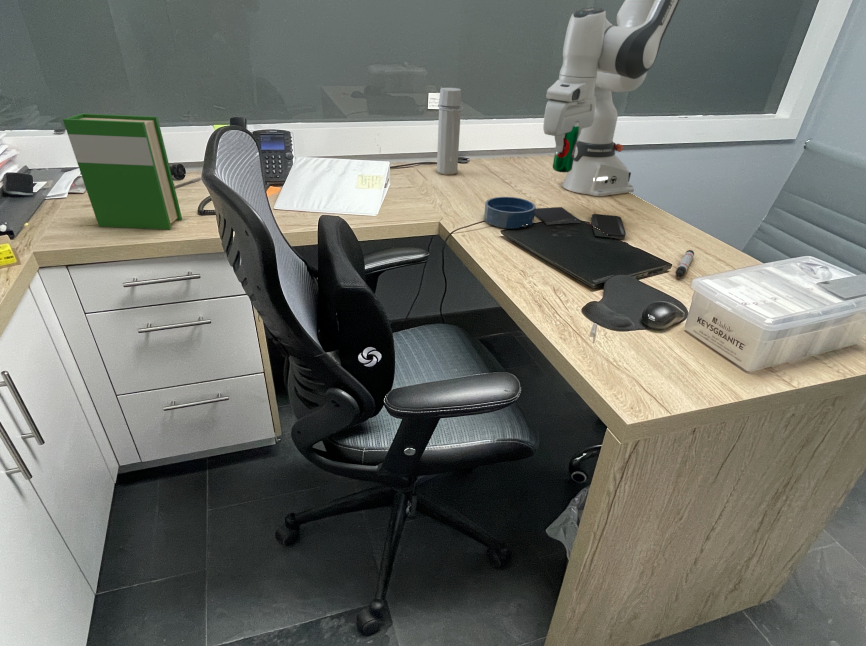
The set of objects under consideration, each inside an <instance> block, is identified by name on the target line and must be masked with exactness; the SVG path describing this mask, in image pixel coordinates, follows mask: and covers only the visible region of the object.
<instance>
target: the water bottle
mask: <svg viewBox="0 0 866 646" xmlns="http://www.w3.org/2000/svg"><path fill="white" fill-rule="evenodd" d="M437 107H438V128H437V152H436V153H437V155H436V156H437V157H436V172H437V174H440V175H444V176H453V175H455V174H456V173H458V169H459V168H458V167H459V150H460V134H461V133H460V132H461V115H462V114H461V113H462V110H463V109H464V107H463V105H462V89H461V88H458V87H441V88H440V90H439V99H438V104H437Z"/></svg>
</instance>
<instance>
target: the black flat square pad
mask: <svg viewBox="0 0 866 646" xmlns="http://www.w3.org/2000/svg"><path fill="white" fill-rule="evenodd" d="M534 217H535V218H537V219H538V220H540V221H541V222H542V223H543V224H545V223H544V222H552V221H558V220H563V219H567V218H571V219H576V220H579V221H581V219H580V218H578V217H576V216H575V215H573V214H572V213H571V212H569V211H568V210H566V209H565V208H564V207H562V206H557V207H556V206H555V207H536V209H535V216H534Z"/></svg>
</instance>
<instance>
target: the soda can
mask: <svg viewBox="0 0 866 646" xmlns="http://www.w3.org/2000/svg"><path fill="white" fill-rule="evenodd" d="M579 128H580V125H579V121H578V122H575V124H574V126H573V129H572V131H571V132H569V133H565V138H563V141H564V144H565V147H564V151H563V152H556V151H555V150H554V155H553V162H552V169H553V171H555V172H558V173H567V172H570V171H571V170H572V167H573V161H574V156H575V150H576V145H577V139H578V134H579Z"/></svg>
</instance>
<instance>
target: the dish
mask: <svg viewBox="0 0 866 646" xmlns="http://www.w3.org/2000/svg"><path fill="white" fill-rule="evenodd" d="M536 206H537V205H536V204H535V203H534V202H533V201H531V200H528V199H526V198H522V197H516V196H515V197H514V196H496V197H491V198H489V199H487V200H486V201H485V202H484V211H483V221H485V223H487V224H489V225H491V226H494V227H496V228H502V229H508V230H509V229H512V230H515V229H520V228H519V227H522V225H524V226H526V224H528V225H530V226H532V225H533V224H534V223H535V217H536V216H535V209H536V208H537V207H536Z"/></svg>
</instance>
